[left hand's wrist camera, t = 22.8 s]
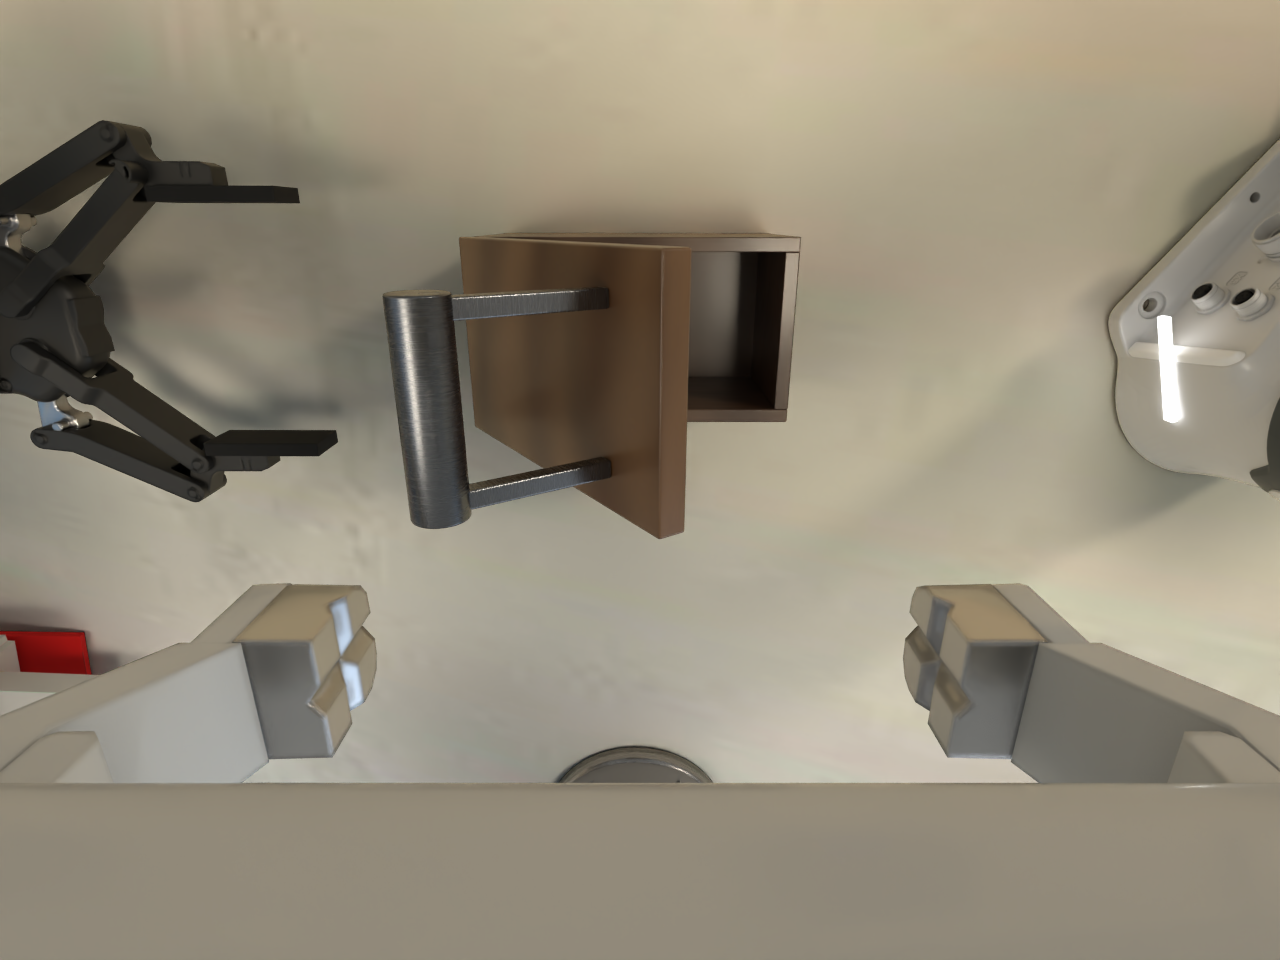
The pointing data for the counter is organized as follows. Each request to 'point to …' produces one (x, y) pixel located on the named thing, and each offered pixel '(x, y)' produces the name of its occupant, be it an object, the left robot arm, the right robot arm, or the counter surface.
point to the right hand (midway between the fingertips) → (309, 326)
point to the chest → (730, 319)
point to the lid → (549, 377)
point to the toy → (40, 665)
